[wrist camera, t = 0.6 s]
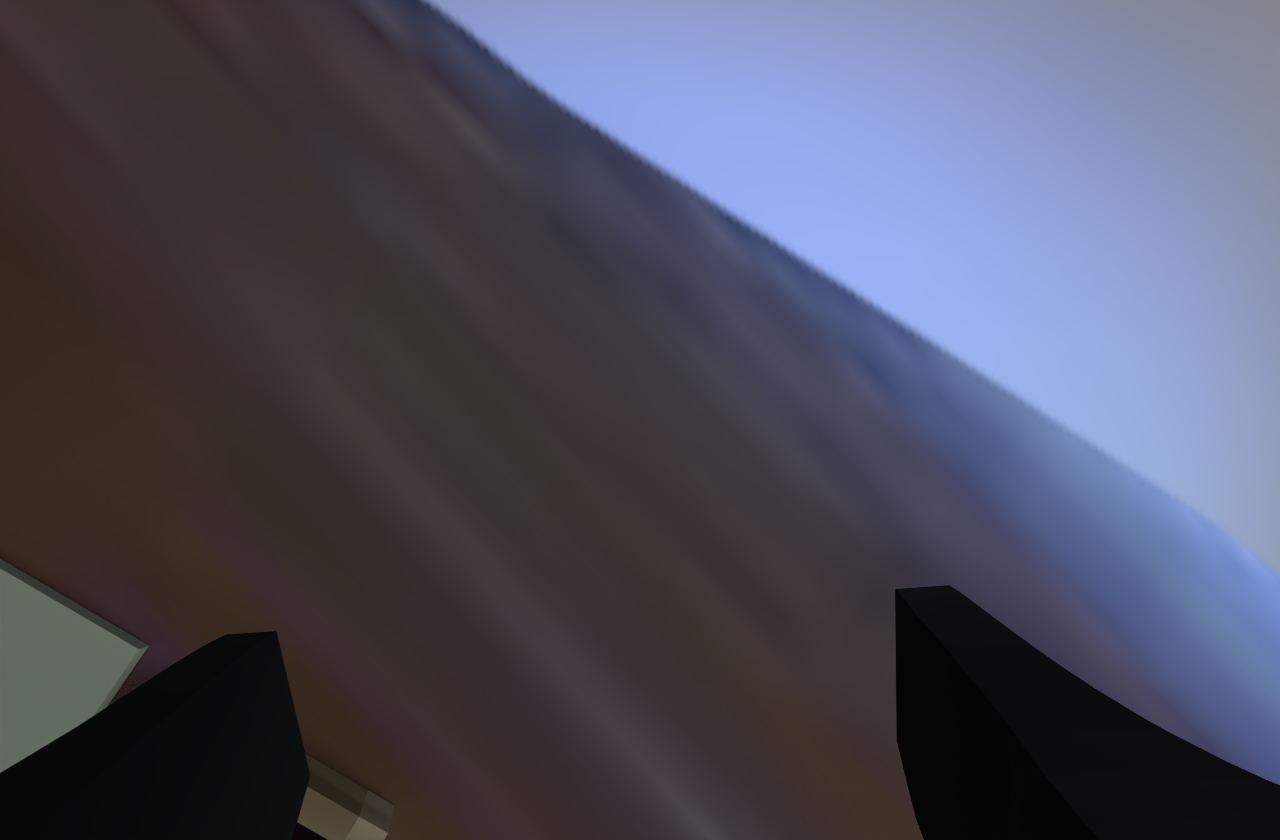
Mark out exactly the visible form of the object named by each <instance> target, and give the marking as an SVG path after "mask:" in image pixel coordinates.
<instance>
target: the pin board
mask: <svg viewBox="0 0 1280 840" xmlns="http://www.w3.org/2000/svg"><path fill="white" fill-rule="evenodd" d="M148 646H149V645H147V644H145V643H144V642H142V641H140V640H138V639H137V638H135V637H133V636H132V635H130V634H128V633H126V632H125V631H123V630H121V629H120V628H118V627H116V626H114V625H113V624H111V623H109V622H108V621H106V620H104V619H103V618H101V617H99V616H97V615H96V614H94V613H92V612H91V611H89V610H87V609H85V608H84V607H82V606H80V605H79V604H77V603H75V602H73V601H72V600H70V599H68V598H67V597H65V596H63V595H61V594H60V593H58V592H56V591H55V590H53V589H51V588H49V587H48V586H46V585H44V584H43V583H41V582H39V581H37V580H36V579H34V578H32V577H31V576H29V575H27V574H25V573H24V572H22V571H20V570H19V569H17V568H15V567H13V566H12V565H10V564H8V563H7V562H5V561H3V560H2V559H0V773H1V772H2V771H4V770H6V769H7V768H9V767H11V766H12V765H14V764H16V763H17V762H19V761H21V760H22V759H24V758H26V757H27V756H29V755H31V754H32V753H34V752H36V751H37V750H39V749H41V748H42V747H44V746H46V745H47V744H49V743H51V742H52V741H54V740H55V739H57V738H59V737H60V736H62V735H64V734H65V733H67V732H69V731H70V730H72V729H74V728H75V727H77V726H78V725H80V724H82V723H83V722H85V721H86V720H88V719H89V718H91V717H92V716H94V715H96V714H97V713H99V712H100V711H102V710H103V709H105V708H106V707H107V706H108V705H109V703H110V702H111V700H112V699H113V697H114V696H115V695H116V693H117V692H118V690H119V689H120V687H121V686H122V684H123V683H124V681H125V680H126V678H127V677H128V676H129V674H130V673H131V671H132V670H133V668H134V667H135V665H136V664H137V662H138V661H139V659H140V658H141V657H142V655H143V654H144V652H145V651H146V649H147V648H148Z"/></svg>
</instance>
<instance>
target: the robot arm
mask: <svg viewBox="0 0 1280 840" xmlns="http://www.w3.org/2000/svg"><path fill="white" fill-rule="evenodd" d="M895 610H896V711H897V743H898V748H899V752H900V756H901V760H902V764H903V769H904V773H905V777H906V781H907V785H908V789H909V793H910V797H911V801H912V805H913V809H914V812H915V816H916V820H917V822H918V825H919V828H920V831H921V833H922V836H923V839H924V840H1280V785H1278V784H1275V783H1273V782H1270V781H1268V780H1266V779H1263V778H1261V777H1259V776H1257V775H1255V774H1252V773H1250V772H1248V771H1246V770H1244V769H1241V768H1239V767H1237V766H1235V765H1233V764H1231V763H1229V762H1226V761H1224V760H1222V759H1220V758H1219V757H1217V756H1215V755H1213V754H1211V753H1209V752H1207V751H1205V750H1203V749H1201V748H1199V747H1197V746H1195V745H1193V744H1191V743H1189V742H1187V741H1185V740H1183V739H1181V738H1179V737H1177V736H1175V735H1173V734H1171V733H1169V732H1168V731H1166V730H1164V729H1162V728H1160V727H1159V726H1157V725H1155V724H1153V723H1151V722H1150V721H1148V720H1146V719H1144V718H1143V717H1141V716H1139V715H1137V714H1136V713H1134V712H1133V711H1131V710H1129V709H1128V708H1126V707H1124V706H1123V705H1121V704H1119V703H1118V702H1116V701H1115V700H1113V699H1111V698H1110V697H1108V696H1106V695H1105V694H1103V693H1102V692H1100V691H1098V690H1097V689H1095V688H1093V687H1092V686H1090V685H1089V684H1087V683H1086V682H1084V681H1083V680H1081V679H1080V678H1078V677H1077V676H1075V675H1074V674H1072V673H1071V672H1069V671H1068V670H1066V669H1065V668H1063V667H1062V666H1060V665H1059V664H1057V663H1056V662H1054V661H1053V660H1052V659H1050V658H1049V657H1047V656H1046V655H1044V654H1043V653H1042V652H1040V651H1039V650H1037V649H1036V648H1035V647H1033V646H1032V645H1030V644H1029V643H1028V642H1026V641H1025V640H1024V639H1022V638H1021V637H1019V636H1018V635H1017V634H1015V633H1014V632H1013V631H1011V630H1010V629H1009V628H1007V627H1006V626H1005V625H1003V624H1002V623H1001V622H999V621H998V620H996V619H995V618H994V617H992V616H991V615H990V614H988V613H987V612H986V611H985V610H983V609H982V608H981V607H979V606H978V605H977V604H975V603H974V602H973V601H971V600H970V599H968V598H967V597H966V596H964V595H963V594H962V593H960V592H959V591H957V590H956V589H954V588H953V587H951V586H950V585H948V586H933V587H919V588H904V589H895ZM309 779H310V772H309V767H308V763H307V759H306V755H305V750H304V746H303V742H302V738H301V734H300V729H299V725H298V721H297V717H296V712H295V708H294V704H293V700H292V696H291V691H290V687H289V683H288V679H287V674H286V670H285V666H284V662H283V658H282V653H281V649H280V645H279V641H278V636H277V632H276V631H272V632H257V633H242V634H228V635H224V636H222V637H220V638H218V639H216V640H214V641H212V642H210V643H208V644H206V645H205V646H203V647H201V648H199V649H198V650H196V651H194V652H193V653H191V654H189V655H188V656H186V657H184V658H183V659H181V660H180V661H178V662H176V663H175V664H173V665H172V666H170V667H168V668H167V669H165V670H164V671H162V672H161V673H159V674H157V675H156V676H154V677H153V678H151V679H150V680H148V681H147V682H145V683H144V684H142V685H140V686H139V687H137V688H136V689H134V690H133V691H131V692H130V693H128V694H127V695H125V696H123V697H122V698H120V699H119V700H117V701H116V702H114V703H113V704H111V705H110V706H108V707H106V708H105V709H103V710H102V711H100V712H99V713H97V714H96V715H94V716H92V717H91V718H89V719H88V720H86V721H85V722H83V723H82V724H80V725H78V726H77V727H75V728H74V729H72V730H70V731H69V732H67V733H65V734H64V735H62V736H60V737H59V738H57V739H55V740H54V741H52V742H51V743H49V744H47V745H46V746H44V747H42V748H41V749H39V750H37V751H36V752H34V753H32V754H31V755H29V756H27V757H26V758H24V759H22V760H21V761H19V762H17V763H16V764H14V765H12V766H11V767H9V768H7V769H6V770H4V771H2V772H1V773H0V840H291V839H292V836H293V833H294V830H295V827H296V824H297V821H298V818H299V814H300V811H301V807H302V804H303V800H304V797H305V793H306V790H307V786H308V783H309Z"/></svg>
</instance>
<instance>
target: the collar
mask: <svg viewBox="0 0 1280 840" xmlns="http://www.w3.org/2000/svg"><path fill="white" fill-rule="evenodd" d="M305 755H306V759H307V763H308V767H309V772H310V779H309V783H308V786H307V790H306V793H305V797H304V800H303V804H302V807H301V811H300V814H299V818H298V821H297V822H298V823H300V824H301V825H303V826H305V827H307V828H308V829H310V830H312V831H313V832H315V833H317V834H319V835H320V836H322V837H324V838H326V839H327V840H384V839H385V837H386V836H387V834H388V831H389V826H390V822H391V817H392V813H393V808H394V805H393V804H391V803H389V802H388V801H386V800H384V799H383V798H381V797H379V796H377V795H376V794H374V793H372V792H371V791H369V790H367V789H365V788H364V787H362V786H360V785H359V784H357V783H355V782H353V781H352V780H350V779H348V778H347V777H345V776H343V775H341V774H340V773H338V772H336V771H335V770H333V769H331V768H329V767H328V766H326V765H324V764H323V763H321V762H319V761H317V760H316V759H314V758H312V757H311V756H309V755H307V754H305Z"/></svg>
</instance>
